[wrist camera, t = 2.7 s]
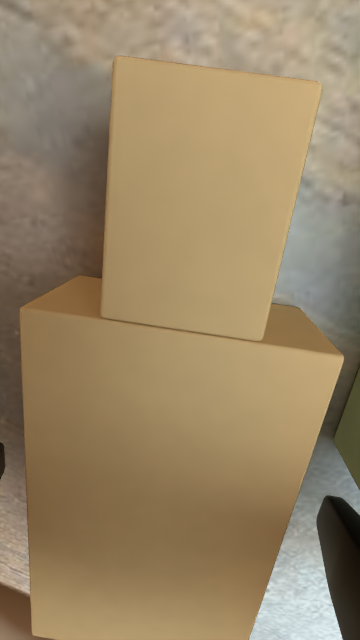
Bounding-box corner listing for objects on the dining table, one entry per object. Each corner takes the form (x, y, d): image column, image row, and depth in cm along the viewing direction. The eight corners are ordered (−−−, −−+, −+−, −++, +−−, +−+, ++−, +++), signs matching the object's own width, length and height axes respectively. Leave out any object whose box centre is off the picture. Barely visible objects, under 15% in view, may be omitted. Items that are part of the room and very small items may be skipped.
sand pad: (230, 562, 12) (238, 673, 9) (71, 536, 12) (30, 636, 9) (347, 137, 7) (437, 93, 4) (82, 101, 7) (6, 37, 5)
